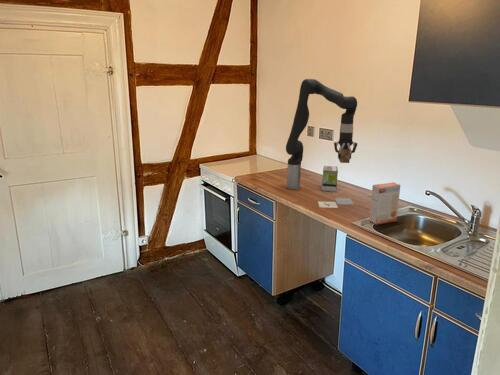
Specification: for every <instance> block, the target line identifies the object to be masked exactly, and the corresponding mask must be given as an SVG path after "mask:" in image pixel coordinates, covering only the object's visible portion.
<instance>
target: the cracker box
mask: <svg viewBox="0 0 500 375" xmlns="http://www.w3.org/2000/svg"><path fill="white" fill-rule="evenodd" d="M371 190H372V192H371V198H370V199H371V201H370V212H369V222H370V221H371V222H370V223H372V222H373V223H372V224H374V225H382V224H387V223H394V222H397V220H398V212H399V202H400V191H401V184H399V183H396V182H393V181H392V182H386V183H380V184H379V183H378V184H373V185H372V189H371Z"/></svg>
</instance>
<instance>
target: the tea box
mask: <svg viewBox="0 0 500 375" xmlns="http://www.w3.org/2000/svg"><path fill="white" fill-rule="evenodd" d="M338 168H339V167H338V166H337V165H336V166H335V165H323V169H322V178H321V179H322V180H321V181H322V182H321V191H324V192H337V186H338V177H339V176H338V173H339V169H338Z"/></svg>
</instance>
